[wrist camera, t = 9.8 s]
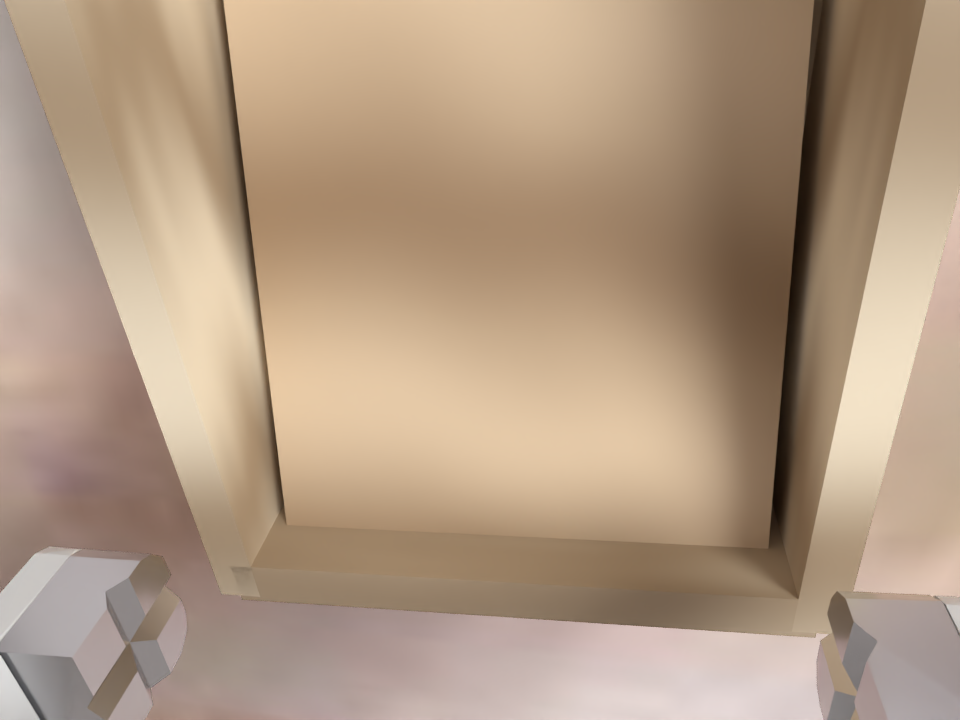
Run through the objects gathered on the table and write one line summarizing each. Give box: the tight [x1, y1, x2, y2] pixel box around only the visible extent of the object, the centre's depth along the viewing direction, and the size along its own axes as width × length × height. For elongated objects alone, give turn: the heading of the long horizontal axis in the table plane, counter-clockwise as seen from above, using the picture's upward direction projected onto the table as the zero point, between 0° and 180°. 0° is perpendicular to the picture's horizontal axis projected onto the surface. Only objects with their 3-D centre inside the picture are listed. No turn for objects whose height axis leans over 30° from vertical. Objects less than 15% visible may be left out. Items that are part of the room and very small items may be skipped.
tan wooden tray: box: [4, 0, 960, 638], centre depth 10 cm, size 16×10×6 cm, turn 4°
